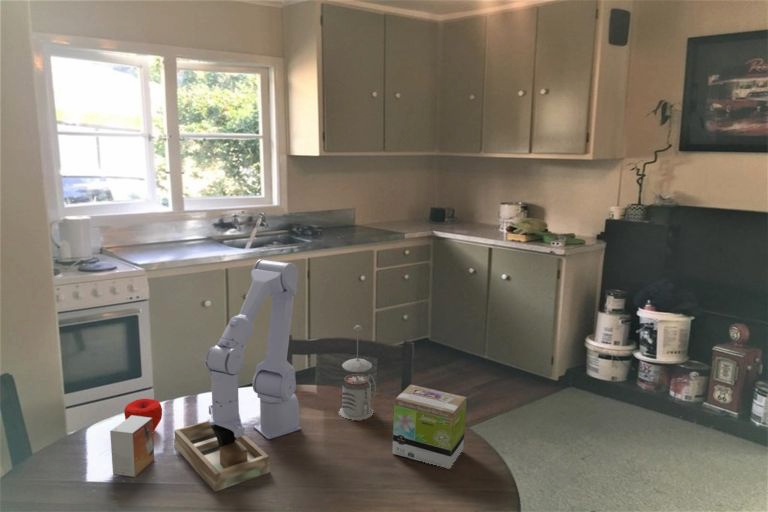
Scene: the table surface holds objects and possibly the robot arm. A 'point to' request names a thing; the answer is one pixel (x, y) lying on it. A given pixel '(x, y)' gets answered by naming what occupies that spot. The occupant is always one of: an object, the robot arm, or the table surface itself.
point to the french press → (360, 405)
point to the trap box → (218, 456)
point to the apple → (145, 410)
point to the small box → (132, 445)
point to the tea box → (429, 425)
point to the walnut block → (232, 454)
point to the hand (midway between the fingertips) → (226, 453)
